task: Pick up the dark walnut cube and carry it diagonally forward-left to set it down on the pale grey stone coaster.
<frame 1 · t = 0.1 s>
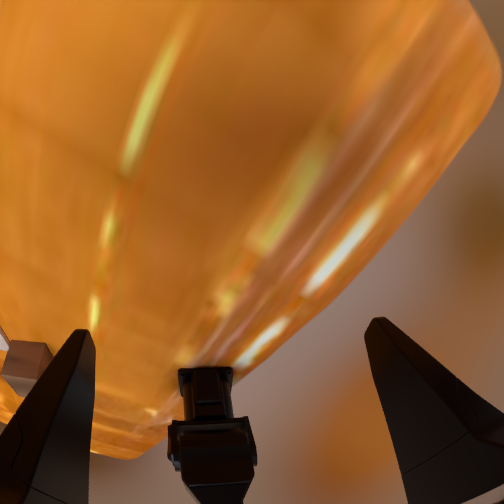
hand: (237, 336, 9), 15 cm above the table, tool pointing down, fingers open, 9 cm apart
walnut cube: (35, 353, 31), on the table
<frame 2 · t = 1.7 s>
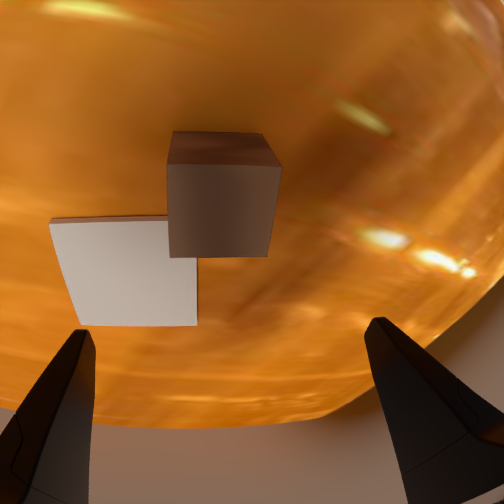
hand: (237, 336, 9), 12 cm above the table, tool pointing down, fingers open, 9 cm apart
walnut cube: (214, 171, 19), on the table
stone coaster: (128, 275, 22), on the table
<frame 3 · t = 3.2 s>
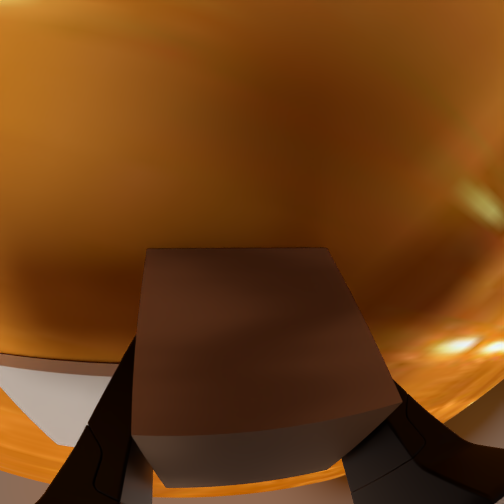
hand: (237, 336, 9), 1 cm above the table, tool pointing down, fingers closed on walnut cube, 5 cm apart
walnut cube: (233, 311, 10), on the table, touching gripper
stone coaster: (107, 413, 14), on the table
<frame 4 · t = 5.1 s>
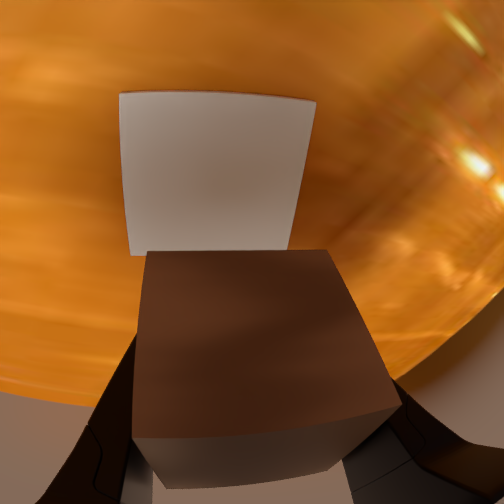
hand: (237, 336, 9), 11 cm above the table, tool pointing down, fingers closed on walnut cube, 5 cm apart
walnut cube: (233, 312, 10), point 10 cm above the table, touching gripper
stone coaster: (212, 178, 18), on the table
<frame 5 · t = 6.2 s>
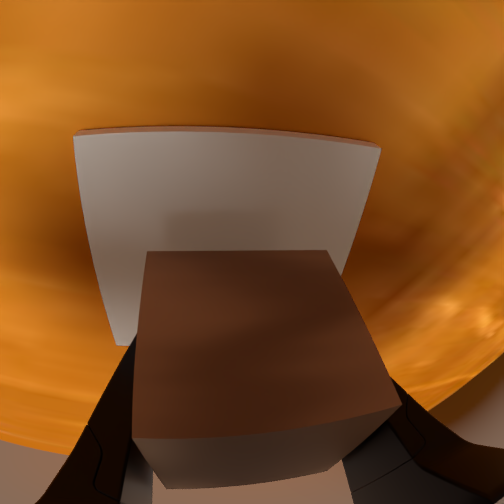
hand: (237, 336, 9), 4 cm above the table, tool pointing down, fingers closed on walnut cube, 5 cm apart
walnut cube: (233, 313, 10), point 3 cm above the table, touching gripper
stone coaster: (223, 254, 13), on the table
when the fingers open (3 cm above the table, at t = 6.8 s): walnut cube drops 1 cm, resting on stone coaster.
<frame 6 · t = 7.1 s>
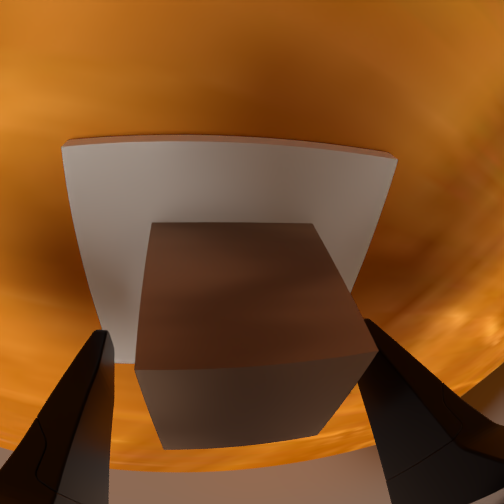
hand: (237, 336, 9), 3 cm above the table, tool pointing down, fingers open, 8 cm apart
walnut cube: (228, 283, 11), point 1 cm above the table, touching stone coaster
stone coaster: (226, 271, 12), on the table
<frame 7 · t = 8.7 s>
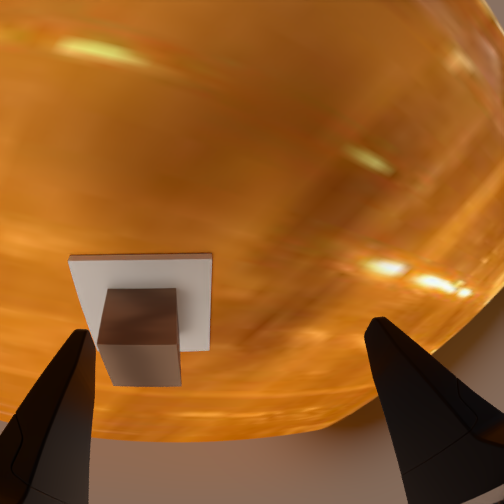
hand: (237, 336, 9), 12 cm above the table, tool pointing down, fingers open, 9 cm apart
walnut cube: (145, 312, 23), point 1 cm above the table, touching stone coaster
stone coaster: (145, 307, 24), on the table
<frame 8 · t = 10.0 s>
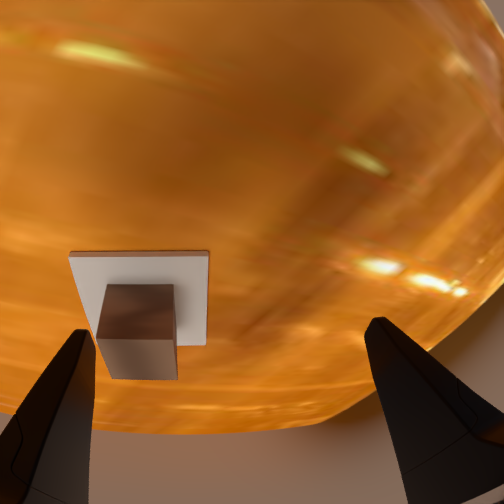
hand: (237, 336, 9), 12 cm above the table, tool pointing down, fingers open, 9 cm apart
walnut cube: (143, 307, 24), point 1 cm above the table, touching stone coaster
stone coaster: (143, 302, 24), on the table
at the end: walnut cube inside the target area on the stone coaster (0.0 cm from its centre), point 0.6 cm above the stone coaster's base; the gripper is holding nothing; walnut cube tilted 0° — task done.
